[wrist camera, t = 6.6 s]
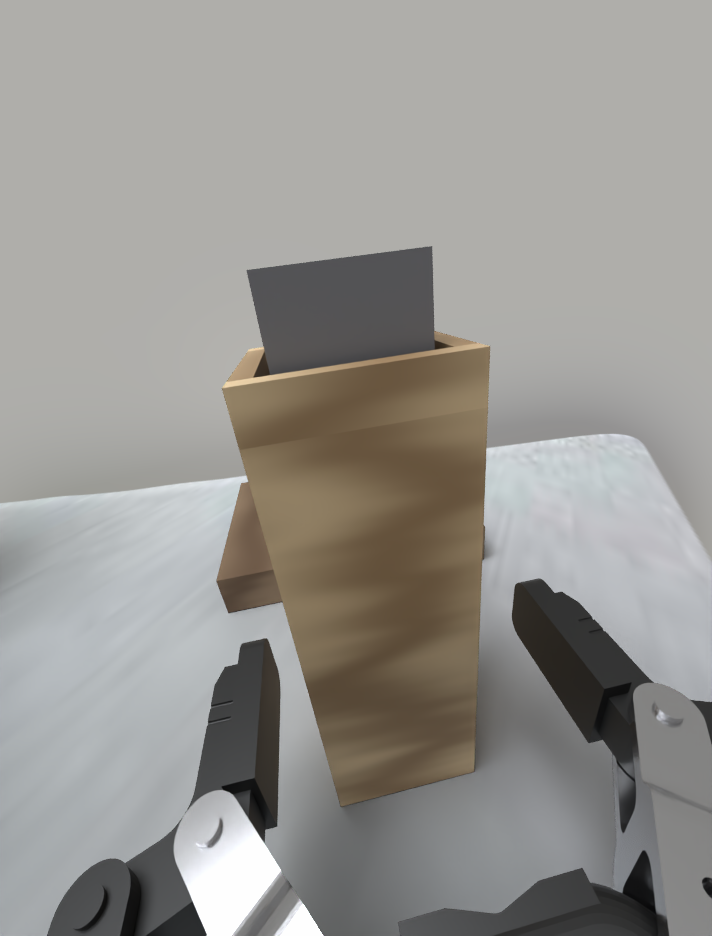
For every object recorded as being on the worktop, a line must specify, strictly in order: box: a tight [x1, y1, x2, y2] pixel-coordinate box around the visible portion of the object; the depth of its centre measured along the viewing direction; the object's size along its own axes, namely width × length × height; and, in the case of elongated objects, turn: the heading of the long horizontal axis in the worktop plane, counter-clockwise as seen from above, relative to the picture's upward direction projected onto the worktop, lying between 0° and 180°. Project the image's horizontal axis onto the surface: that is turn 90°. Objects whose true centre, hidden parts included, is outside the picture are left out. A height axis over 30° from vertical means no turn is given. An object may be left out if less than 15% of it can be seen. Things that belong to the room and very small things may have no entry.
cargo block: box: [247, 246, 435, 375], centre depth 9 cm, size 3×3×3 cm
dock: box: [217, 482, 485, 613], centre depth 28 cm, size 16×12×2 cm
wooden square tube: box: [222, 331, 490, 807], centre depth 12 cm, size 5×5×15 cm
